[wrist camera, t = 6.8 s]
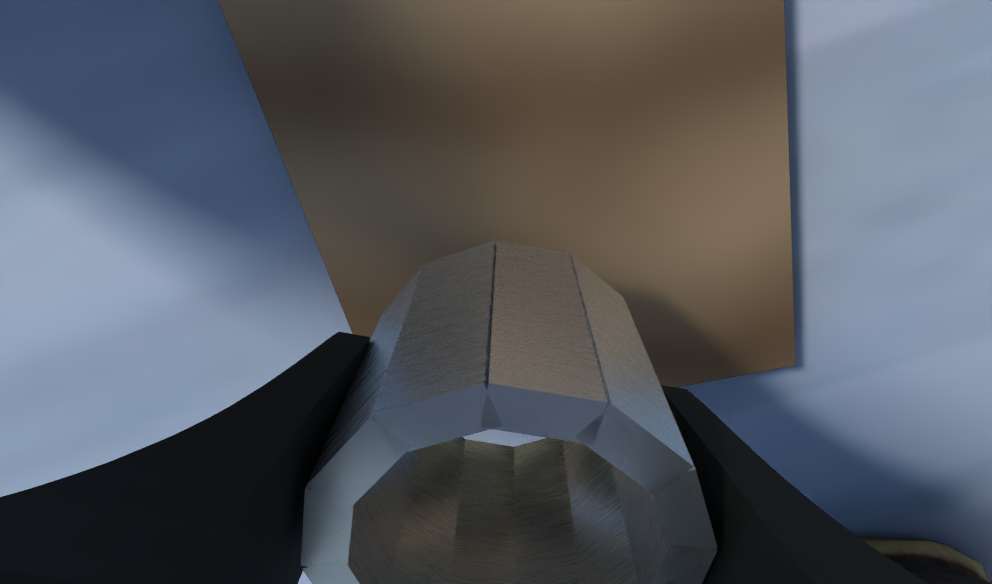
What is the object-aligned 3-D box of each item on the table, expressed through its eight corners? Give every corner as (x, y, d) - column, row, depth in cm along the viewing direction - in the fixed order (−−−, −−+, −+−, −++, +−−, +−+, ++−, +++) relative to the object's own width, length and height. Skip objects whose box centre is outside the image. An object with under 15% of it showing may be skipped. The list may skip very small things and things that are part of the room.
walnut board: (92, -368, 11) (55, -403, 10) (738, -623, 10) (763, -689, 9) (400, 419, 19) (395, 439, 18) (780, 346, 17) (795, 365, 16)
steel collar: (391, 220, 11) (311, 354, 7) (670, 270, 12) (774, 429, 7) (367, 446, 14) (296, 657, 9) (600, 482, 14) (644, 705, 9)
